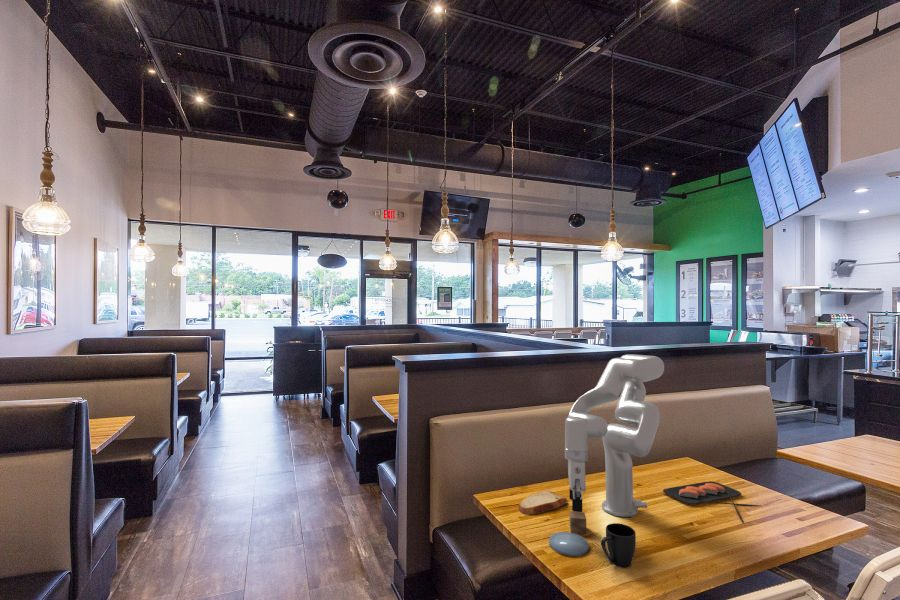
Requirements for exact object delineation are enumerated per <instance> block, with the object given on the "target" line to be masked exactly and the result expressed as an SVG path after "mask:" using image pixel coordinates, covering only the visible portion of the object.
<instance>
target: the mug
mask: <svg viewBox="0 0 900 600" xmlns="http://www.w3.org/2000/svg"><path fill="white" fill-rule="evenodd" d="M636 535H637V534H636V531H635V529H634V528H633V527H631V526H629V525H627V524H623V523H618V522H615V523H614V522H613V523H609V524H607V525H606V527H605V537H602V538H601V539H600V546H601V549H602V551H603V553H604V555H605V557H606V558H607V560H608V562H609V563H610V565H613V566H615V567H619V568H621V569H624V568H625V569H628V568H630V567H631V566H632V563H633V559H634V556H635V551H636V547H637V545H636V544H637V540H636V539H637V538H636Z"/></svg>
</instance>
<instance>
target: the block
mask: <svg viewBox="0 0 900 600" xmlns="http://www.w3.org/2000/svg"><path fill="white" fill-rule="evenodd" d="M568 513H569V514H568V515H569V530H570V533H571V532H572V533H574V534H583V535H587V518H586V517H587V516H586V514H585V511H584V512H583V511H582V512H576V511H572V510H570V511H569V512H568Z"/></svg>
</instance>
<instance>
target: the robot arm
mask: <svg viewBox="0 0 900 600" xmlns="http://www.w3.org/2000/svg"><path fill="white" fill-rule="evenodd" d="M664 372H665V364H664V361H663V360H662V359H661V358H660V357H658V356H655V355H648V354H647V355H644V354H635V353H634V354H632V353H631V354H629V353H626V354H623V355H621V356H620V357H614V358H611V359H610V360H609V361H608V362H607V364H606V366H605V369H604V370H603V372H602V374H601V376H600V377H599V380H598V381H597V383H596V385H595V387H594V388H592V389H590V390H588V391H587V392H585V393H584V394H582V395H581V396H579V397H578V398H577V399H576V401H575V402H574V404H573V405H572V407H571V409H570V411H569V412H568V415H567V417H566V418H565V422H564V458H565V459H566V460H567V471H568V472H567V473H568V475H567V476H568V483H569V500H571V511H575V512H583V496H582V495H583V494H582V493H586V491H587V487H586V486H587V485H586V464H585V462H587V461H588V460H589V459H588V456H589V455H588V450H589V448H588V445H589V443H588V442H589V441H588V440H589V439H601V440H602V443H603V444H602V445H603V450H604V457H605V458H604V459H605V500H603V501H602V502H601V508H602V510H603V511H604V512H606V513H608V514H610V515H611V516H612V515H613V516H616V517H622V518H630V517H635V516H637V514H638V513H639V509H638V508H643V509H647V508H648V502H646V501H643V500H642V499H635V498H634V483H633V482H634V477H633V475H634V473H633V470H634V469H633V468H634V467H633V461H632V457H631V455H632V456H636V457H640V458H641V457H642V458H643V457H646V456H647V455H649V453H650V451H651V449H652V447H653V444H654V441H655V437H656V434H657V431H658V428H659V425H660V421H661V419H660V418H661V415H660V414H661V413H660V409H659V407H657V405H655V404H654V403H652V402H648V401H645V398H646V396H647V395H646V394H647V389H646V387H645V385H644V383H647V382H650V381H653V380H657V379H659V378H660V377H661V376H662V375H663V374H664ZM617 400H618V401H617ZM615 401H617V405H616V407H615V409H614V410H615V411H614V417H615V419H616V420H617V421H618V422H620V423H623V424H620V423H609V424H608V422H607V421H606V420H605V418H603V417H601V416H598V415H594V414H591V413H588V412H589V411H590V410H592V409H594V408H596V407H598V406H600V405H605V404H606V405H607V404H610V403H612V402H615ZM624 424H626V425H624ZM629 425H630V426H629ZM632 426H634V427H632ZM636 427H637V428H636Z"/></svg>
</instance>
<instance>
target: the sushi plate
mask: <svg viewBox="0 0 900 600" xmlns="http://www.w3.org/2000/svg"><path fill="white" fill-rule="evenodd" d="M662 492H663V493H664V494H665V495H668V496H669V497H671V498H674V499H675V500H678V501H680V502H682V503H684V504H687V505H699V504H705V503H711V504H723V505H732V506H733V507H734V509H735V511H736V515H737V516H738V518H739V520H740V522H741V523H742V524H745V522H744V520H743V518H742V516H741V514H740V512H739V510H738V508H737V506H742V507H762V505H759V504H758V505H757V504H748V503H747V504H744V503H735V502H734V501H733V499H732V498H735V497H740V496H741V495H742V492H741V491H739V490H737V489H734V488H732V487H730V486H728V485H724V484H722V483H719V482H716V481H713V480H712V481H704V482H697V483H691V484H685V485H684V484H683V485H679V486H673V487H668V488H664V489H663V490H662ZM725 499H730V500H731V502H720V501H719V500H725Z"/></svg>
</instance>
